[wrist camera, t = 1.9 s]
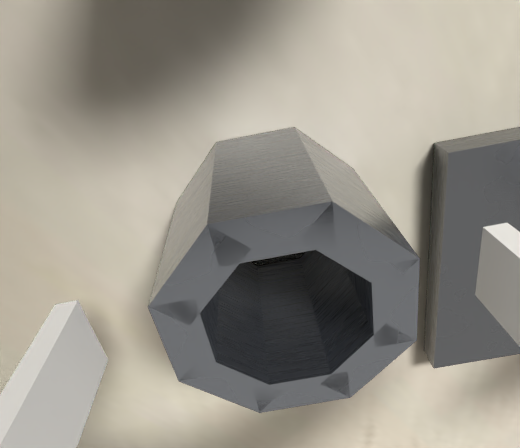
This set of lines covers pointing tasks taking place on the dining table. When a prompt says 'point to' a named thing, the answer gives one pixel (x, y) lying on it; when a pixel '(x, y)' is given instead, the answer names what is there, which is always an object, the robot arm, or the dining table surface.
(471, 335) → the shaft fixture
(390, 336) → the tube
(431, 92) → the dining table surface
